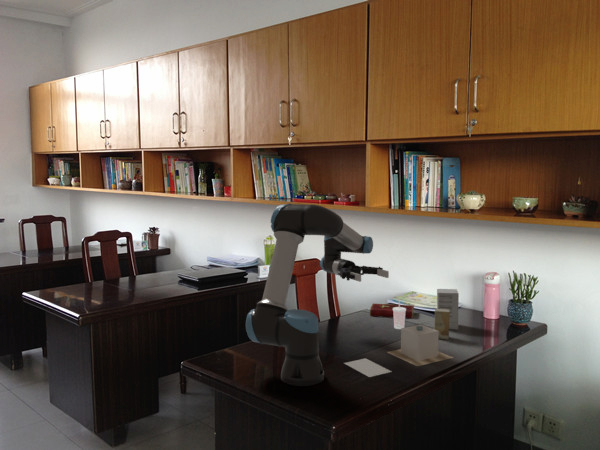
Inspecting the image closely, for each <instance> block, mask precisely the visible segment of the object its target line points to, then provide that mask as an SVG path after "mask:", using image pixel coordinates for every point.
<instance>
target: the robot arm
mask: <svg viewBox="0 0 600 450" xmlns="http://www.w3.org/2000/svg"><path fill="white" fill-rule="evenodd" d="M270 228H271V231H272V232H273V236H274V238H275V240H276V241H275V244H274V248H273V253H272V257H271V261H270V265H269V270H268V274H267V278H266V282H265V286H264V291H263V295H262V298H261V300H259V301H258V302H256V305H255V306H256V307H255V308H253V309H251V310H249V312H248V313H247V315H246V320H245V331H246V333H247V336H248V338H249V340H251V341H252V342H254V343H258V344H260V345H269V346H275V347H282V348H284V349H285V356H284V357H285V359H284V360H283V364H282V367H281V370H280V371H281V372H280V380H281V381H282V383H285V384H286V383H287V384H286V385H290V386H295V387H308V386H309V387H310V386H315V385H318V384H320V383H322V382H323V381H324V379H325V371H324V370H325V369H324V367H323V364H322V361H321V359H320V352H319V351H320V341H319V340H320V339H319V338H320V334H319V333H320V325H319V318H318V316H317V315H316V314H315V313H313V312H312V311H309V310H305V309H296V308H294V309H289V310H288V308H287V306H286V302H287V297H288V294H289V288H290V286H291V285H290V284H291V280H292V275H293V273H294V272H293V271H294V268H295V267H294V266H295V262H296V261H295V260H296V259H297V258H296V257H297V253H298V248H299V245H300V244H302V243H303V242H304V240H305V236H322V237H324V239H323V243H324V246H323V250H324V251H323V252H324V253H323V254H324V255H323V256H322V257H321V260H320V261H319V267H320V268H321V270H323V271H324V272H326V273H328V274H332V275H335V276H340V278H341V279H342V280H345V279H346V281H350V280H353V281H356V282H362V276H364V275H374V276H375V275H376V276H379V277H382V278H386V279H389V278H390V277H389V276H390V275H389V274H390V273H389V271H388V270H384V268H383V267H381V266H377V267H376V266H366V265H356V263H355V262H354V261H352V260H349V259H345V258H342V257H341V256H342V253H352V254H363V255H364V254H370V253H372V252H373V249H374V240H373V238H372V236H367V235H364V236H363V235H362V234H360V233H359V232H357V231H356V230H355V229H353V228H352V227H350V226H349V225H348V224H346V223H345V222H344V220H343V219H342V217H341V216H340V215H339V214H337V212H335V211H333V210H331V209H329V208H327V207H325V206H322V205H319V204H304V203H303V204H300V203H299V204H297V203H295V204H294V203H285V204H284V203H283V204H279V205H278V206H276V208H274V210H273V212H272V214H271V218H270Z"/></svg>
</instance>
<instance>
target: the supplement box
mask: <svg viewBox="0 0 600 450" xmlns="http://www.w3.org/2000/svg"><path fill="white" fill-rule="evenodd" d="M459 295H460V294H459V291H458V289H457V288H449V289H448V288H436V309H448V310H450V317H449V330H459Z"/></svg>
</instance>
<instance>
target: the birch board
mask: <svg viewBox="0 0 600 450" xmlns="http://www.w3.org/2000/svg"><path fill="white" fill-rule="evenodd" d="M386 353H387V354H390V355H391V356H393V357H396V358H398V359H401V360H403V361H405V362H407V363H409V364H411V365H413V366H415V367H421V366H424V365H429V364H433V363H436V362H441V361H445V360H446V361H447V360H449V359H454V357H453V356H450V355H448V354H445V353H443V352H441V351H439V350H438V356H437V357H433V358H428V359H424V360H420V361H417V360H415V359H413V358H410V357H408V356H406V355H404V354H401V348H400V349H396V350H391V351H386Z"/></svg>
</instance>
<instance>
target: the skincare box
mask: <svg viewBox="0 0 600 450" xmlns="http://www.w3.org/2000/svg"><path fill="white" fill-rule="evenodd" d="M449 317H450V310H448V309H437V308H434V323H433V324H434V327H433V329H434V330H437V331H438V340H439V339H440V340H449V339H450V329H449Z"/></svg>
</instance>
